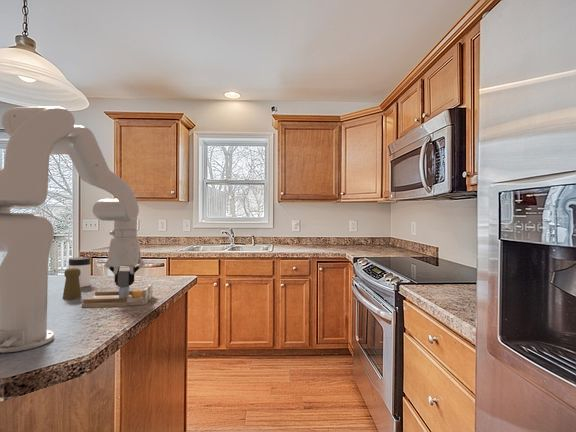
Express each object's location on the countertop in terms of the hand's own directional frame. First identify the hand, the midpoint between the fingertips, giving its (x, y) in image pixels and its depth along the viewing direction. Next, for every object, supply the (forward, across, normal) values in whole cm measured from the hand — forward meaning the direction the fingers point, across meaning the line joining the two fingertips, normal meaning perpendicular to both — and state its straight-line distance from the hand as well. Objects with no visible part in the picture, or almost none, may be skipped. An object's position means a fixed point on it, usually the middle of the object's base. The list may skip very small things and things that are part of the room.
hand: (124, 284), depth 122 cm
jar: (+6, -26, +30) cm, 41 cm away
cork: (+6, -20, +8) cm, 23 cm away
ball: (+4, +4, 0) cm, 6 cm away
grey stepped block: (+5, 0, 0) cm, 5 cm away
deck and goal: (+6, 0, 0) cm, 6 cm away
